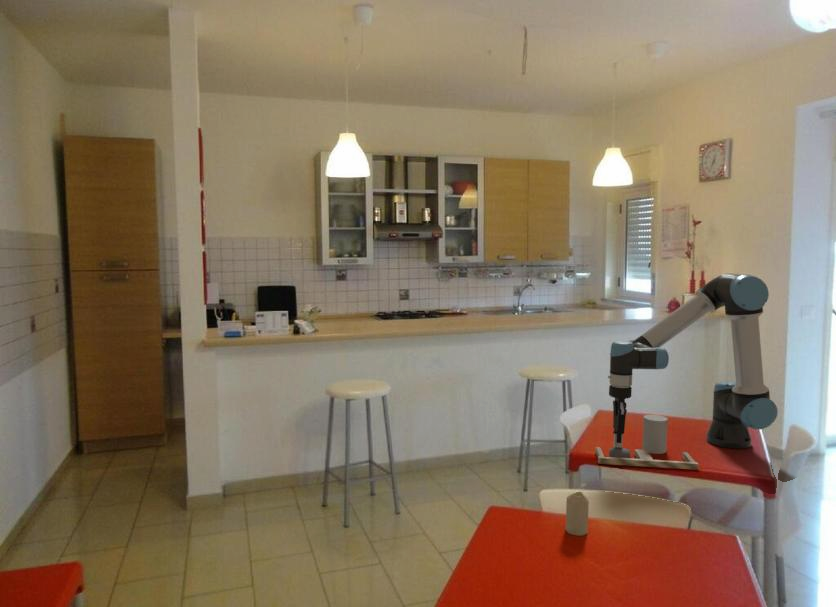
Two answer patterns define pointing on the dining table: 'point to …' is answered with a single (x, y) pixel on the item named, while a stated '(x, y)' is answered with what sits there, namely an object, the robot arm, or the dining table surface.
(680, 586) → the dining table surface
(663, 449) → the grey cylinder
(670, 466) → the slot rack
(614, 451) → the puck
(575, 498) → the candle
